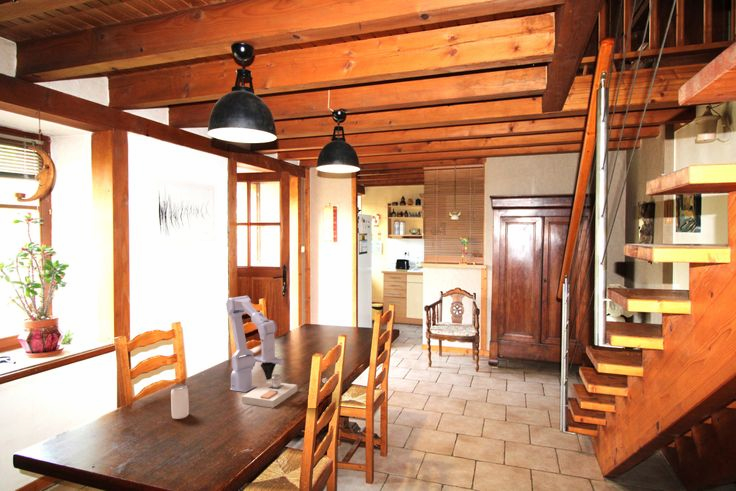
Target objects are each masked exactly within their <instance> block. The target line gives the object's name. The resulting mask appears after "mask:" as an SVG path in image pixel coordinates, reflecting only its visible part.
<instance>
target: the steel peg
mask: <svg viewBox="0 0 736 491" xmlns="http://www.w3.org/2000/svg"><path fill="white" fill-rule="evenodd" d="M281 378H282V374H279V373H278V374H272V378H271V379H270V380H271V382H272V389H280V388H281V383H282V381H281Z"/></svg>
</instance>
